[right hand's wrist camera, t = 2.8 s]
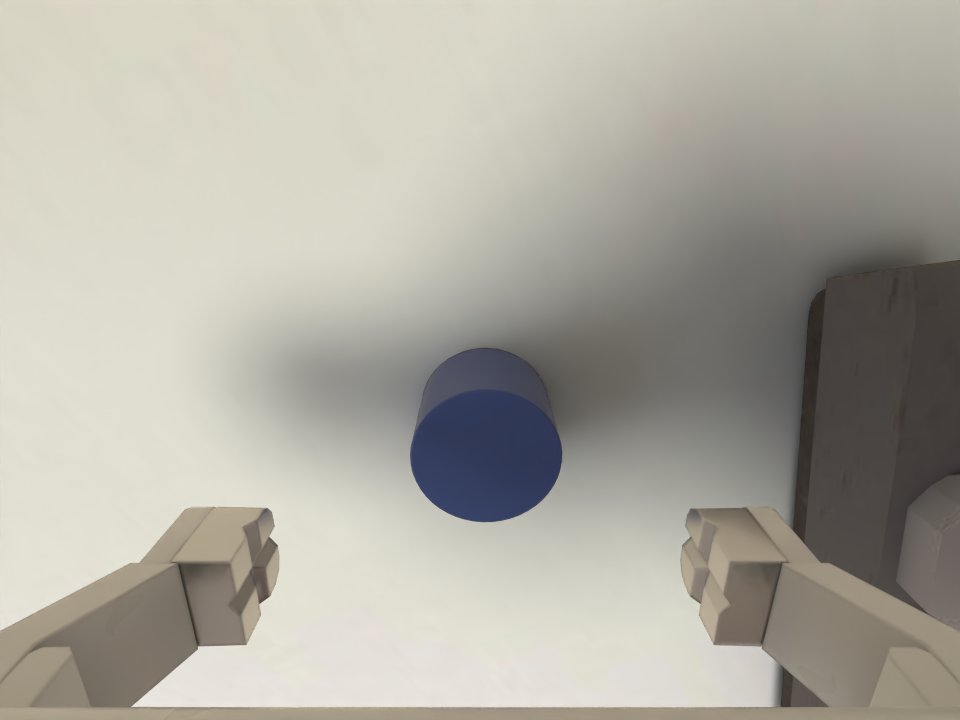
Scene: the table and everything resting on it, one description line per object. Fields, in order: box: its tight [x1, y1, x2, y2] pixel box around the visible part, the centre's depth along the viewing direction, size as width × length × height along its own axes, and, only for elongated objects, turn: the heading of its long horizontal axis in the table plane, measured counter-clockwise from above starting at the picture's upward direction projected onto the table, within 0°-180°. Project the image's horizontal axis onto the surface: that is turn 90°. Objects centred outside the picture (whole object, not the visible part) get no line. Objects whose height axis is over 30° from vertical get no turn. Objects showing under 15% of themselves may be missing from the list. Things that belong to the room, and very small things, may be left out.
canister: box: [410, 349, 562, 522], centre depth 20 cm, size 5×5×4 cm
